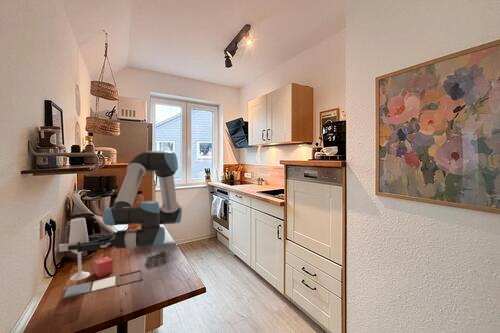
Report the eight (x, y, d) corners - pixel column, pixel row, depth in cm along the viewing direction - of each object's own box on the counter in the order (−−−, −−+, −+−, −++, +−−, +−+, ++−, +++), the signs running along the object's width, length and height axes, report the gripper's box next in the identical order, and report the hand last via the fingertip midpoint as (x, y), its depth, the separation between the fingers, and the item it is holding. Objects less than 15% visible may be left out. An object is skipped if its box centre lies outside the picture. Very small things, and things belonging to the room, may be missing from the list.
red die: (108, 268, 112) (108, 255, 112) (112, 272, 108) (112, 258, 108) (94, 273, 107) (93, 259, 107) (98, 277, 104) (97, 263, 103)
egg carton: (166, 257, 125) (165, 249, 125) (169, 262, 119) (169, 254, 119) (145, 261, 119) (145, 254, 119) (147, 267, 113) (147, 259, 113)
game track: (141, 270, 110) (141, 269, 110) (142, 280, 101) (142, 279, 101) (68, 287, 96) (68, 286, 96) (62, 299, 87) (62, 298, 87)
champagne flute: (65, 279, 91) (63, 221, 90) (80, 271, 97) (78, 216, 96) (79, 281, 89) (77, 221, 89) (94, 272, 96) (92, 217, 95)
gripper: (120, 256, 88) (50, 264, 82) (132, 239, 107) (76, 244, 101) (119, 238, 88) (49, 244, 82) (132, 223, 107) (76, 228, 101)
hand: (64, 244), depth 91 cm, fingers closed on champagne flute, 7 cm apart
